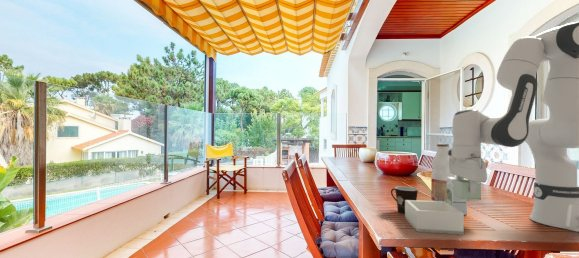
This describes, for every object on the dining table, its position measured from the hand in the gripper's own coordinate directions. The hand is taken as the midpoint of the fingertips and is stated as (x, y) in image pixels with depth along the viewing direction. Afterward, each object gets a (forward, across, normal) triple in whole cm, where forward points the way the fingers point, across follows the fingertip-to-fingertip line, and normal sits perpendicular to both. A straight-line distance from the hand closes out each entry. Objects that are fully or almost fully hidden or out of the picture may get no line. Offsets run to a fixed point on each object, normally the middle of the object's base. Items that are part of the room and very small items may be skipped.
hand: (466, 190), depth 100 cm
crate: (+12, -6, +14) cm, 20 cm away
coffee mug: (+12, +10, +19) cm, 25 cm away
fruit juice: (+12, +23, 0) cm, 26 cm away
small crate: (+3, 0, 0) cm, 3 cm away
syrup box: (+12, +12, -2) cm, 17 cm away
